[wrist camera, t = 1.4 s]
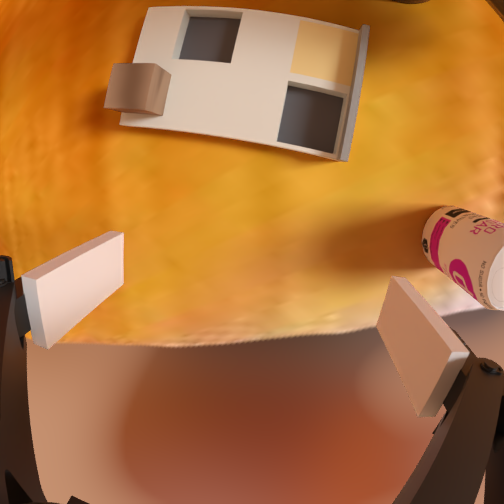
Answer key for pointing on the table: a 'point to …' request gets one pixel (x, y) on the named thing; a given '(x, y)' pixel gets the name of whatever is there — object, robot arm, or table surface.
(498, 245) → the soda can
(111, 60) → the table surface
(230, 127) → the box
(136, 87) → the block
